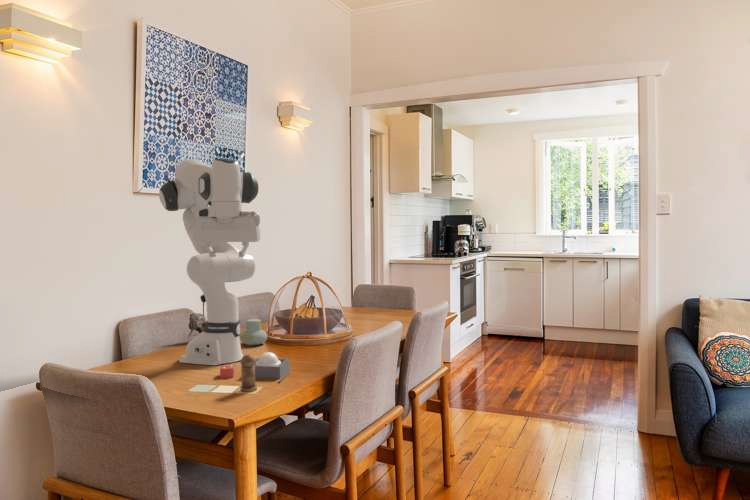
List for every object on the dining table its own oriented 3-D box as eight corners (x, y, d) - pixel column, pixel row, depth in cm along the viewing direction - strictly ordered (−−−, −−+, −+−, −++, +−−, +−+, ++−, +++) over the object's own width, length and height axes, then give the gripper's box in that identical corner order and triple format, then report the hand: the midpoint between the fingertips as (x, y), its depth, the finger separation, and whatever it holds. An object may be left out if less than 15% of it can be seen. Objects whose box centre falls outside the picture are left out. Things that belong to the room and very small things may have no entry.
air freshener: (270, 343, 234) (270, 319, 233) (258, 347, 226) (258, 322, 226) (249, 341, 238) (249, 317, 238) (236, 345, 231) (236, 320, 230)
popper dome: (252, 375, 177) (251, 354, 177) (260, 368, 185) (260, 349, 185) (276, 375, 176) (276, 355, 176) (284, 369, 184) (283, 349, 184)
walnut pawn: (238, 392, 161) (237, 356, 160) (243, 387, 165) (242, 352, 165) (253, 392, 160) (253, 356, 160) (258, 387, 165) (258, 353, 164)
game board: (184, 396, 161) (184, 392, 161) (197, 387, 170) (197, 383, 170) (255, 399, 158) (255, 394, 158) (265, 390, 167) (265, 385, 167)
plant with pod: (186, 340, 240) (185, 293, 239) (213, 338, 244) (213, 292, 243) (188, 344, 232) (187, 295, 231) (216, 342, 237) (215, 294, 236)
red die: (220, 381, 176) (220, 367, 176) (221, 378, 180) (221, 364, 180) (233, 381, 177) (233, 367, 176) (234, 377, 181) (234, 364, 180)
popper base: (245, 381, 176) (245, 366, 176) (257, 372, 187) (257, 357, 187) (280, 383, 175) (279, 367, 174) (289, 373, 186) (289, 358, 185)
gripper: (263, 211, 174) (263, 256, 174) (199, 212, 176) (200, 256, 177) (256, 211, 167) (256, 257, 168) (190, 211, 170) (191, 257, 171)
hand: (227, 257), depth 172 cm, fingers open, 8 cm apart
